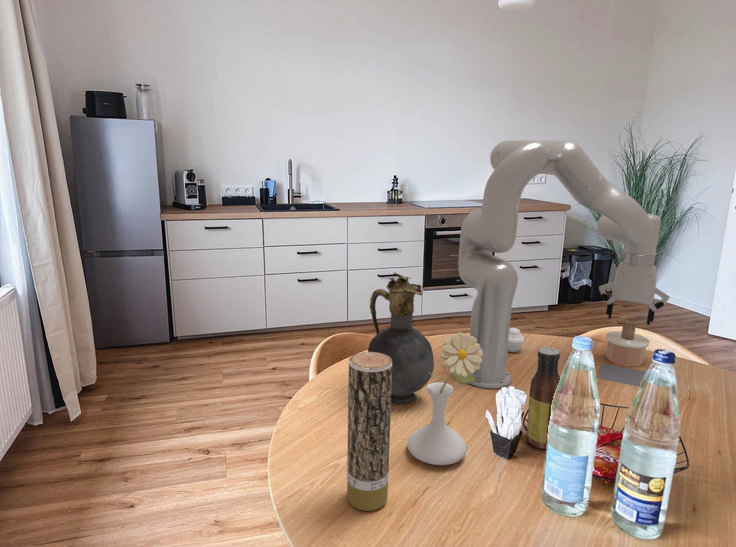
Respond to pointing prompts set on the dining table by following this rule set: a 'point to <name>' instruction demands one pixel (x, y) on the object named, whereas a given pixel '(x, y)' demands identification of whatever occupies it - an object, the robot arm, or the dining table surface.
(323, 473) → the dining table surface
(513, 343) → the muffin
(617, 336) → the lid
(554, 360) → the sauce bottle
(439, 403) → the flower in vase
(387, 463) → the paper tube
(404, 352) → the pitcher
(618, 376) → the mat
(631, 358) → the bowl
